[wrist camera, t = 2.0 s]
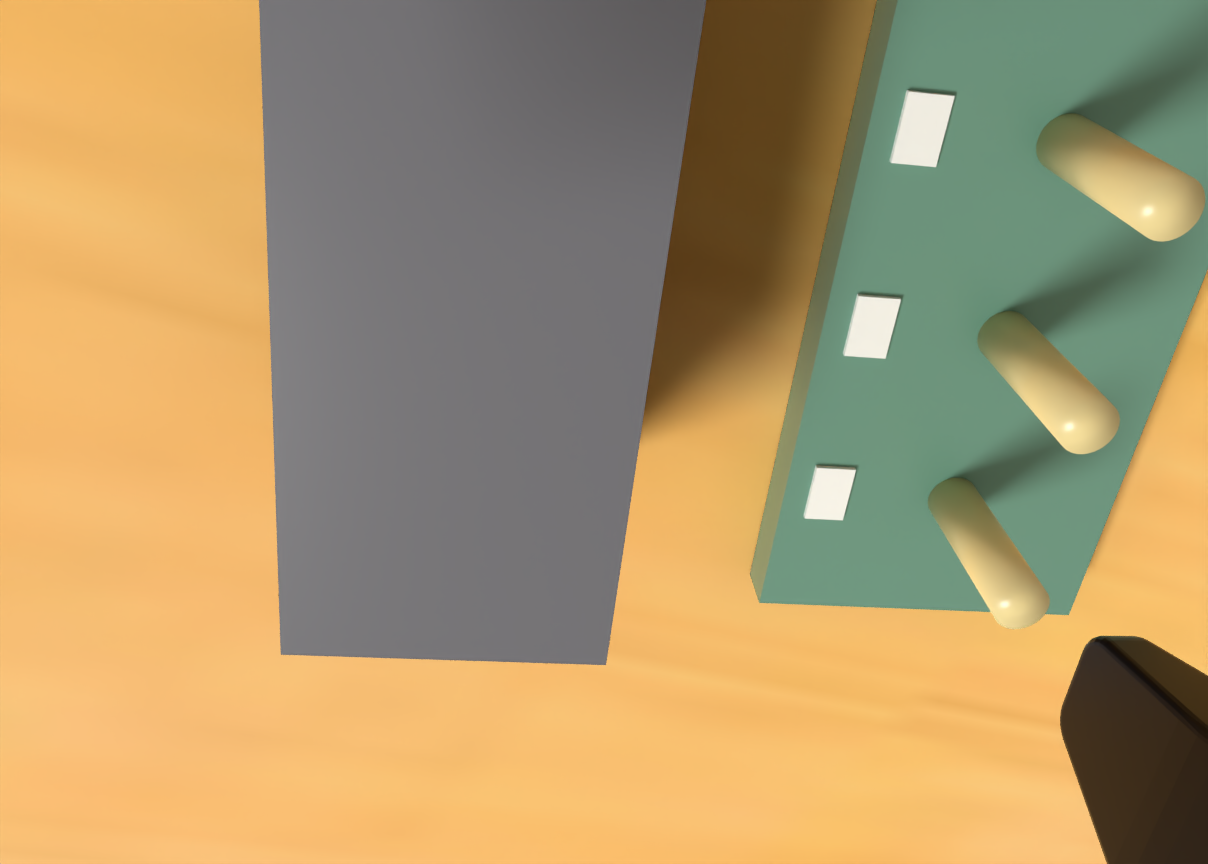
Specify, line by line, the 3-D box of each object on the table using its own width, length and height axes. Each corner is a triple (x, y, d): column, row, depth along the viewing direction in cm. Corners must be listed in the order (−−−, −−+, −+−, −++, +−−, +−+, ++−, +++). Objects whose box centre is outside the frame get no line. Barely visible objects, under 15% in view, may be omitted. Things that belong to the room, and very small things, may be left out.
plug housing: (328, -250, 16) (250, -268, 11) (663, -205, 17) (737, -202, 12) (330, 452, 22) (280, 654, 17) (580, 466, 23) (605, 665, 18)
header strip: (892, -68, 18) (998, -28, 14) (1282, -20, 19) (1483, 29, 15) (750, 574, 25) (797, 721, 21) (1049, 587, 26) (1149, 730, 22)
